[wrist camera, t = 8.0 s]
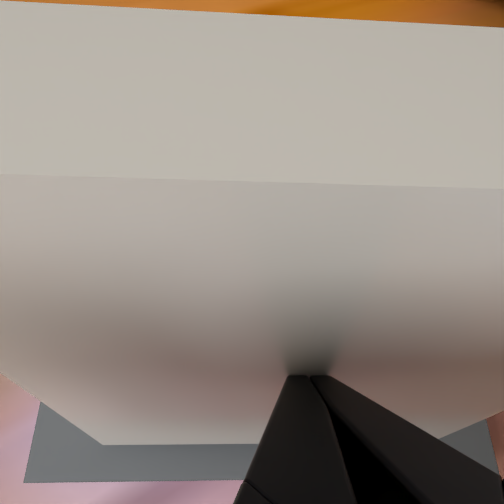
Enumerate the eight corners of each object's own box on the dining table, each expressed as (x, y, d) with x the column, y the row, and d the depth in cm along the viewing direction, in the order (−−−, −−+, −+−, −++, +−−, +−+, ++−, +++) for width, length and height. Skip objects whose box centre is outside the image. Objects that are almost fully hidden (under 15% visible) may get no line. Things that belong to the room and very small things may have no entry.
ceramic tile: (430, 442, 13) (989, 203, 4) (103, 445, 13) (-295, 165, 3) (408, 355, 15) (742, 39, 5) (119, 354, 14) (-96, -8, 5)
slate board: (482, 473, 14) (499, 476, 14) (37, 479, 14) (23, 482, 13) (400, 109, 22) (407, 95, 21) (112, 97, 21) (107, 82, 20)
